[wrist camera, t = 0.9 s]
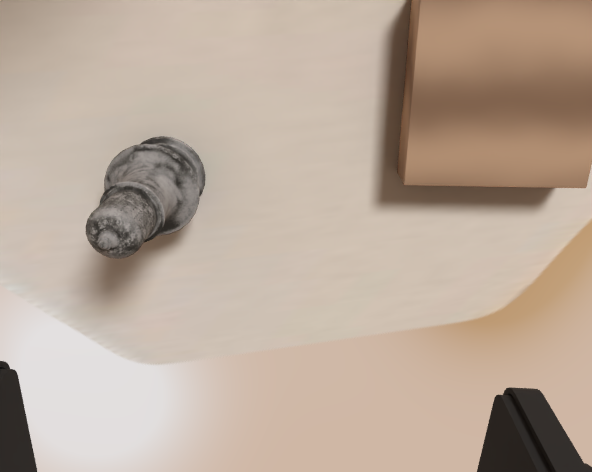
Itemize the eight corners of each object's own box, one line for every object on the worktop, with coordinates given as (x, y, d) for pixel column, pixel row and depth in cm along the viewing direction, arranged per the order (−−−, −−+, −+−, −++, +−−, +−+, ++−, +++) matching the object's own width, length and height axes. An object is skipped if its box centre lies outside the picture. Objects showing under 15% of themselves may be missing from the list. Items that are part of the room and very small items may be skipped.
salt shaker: (159, 113, 34) (85, 160, 23) (227, 174, 36) (189, 246, 25) (105, 176, 36) (14, 247, 25) (173, 232, 38) (114, 323, 27)
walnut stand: (412, -11, 31) (422, -13, 28) (602, -10, 31) (631, -12, 28) (397, 171, 35) (404, 185, 33) (564, 174, 35) (585, 187, 32)
